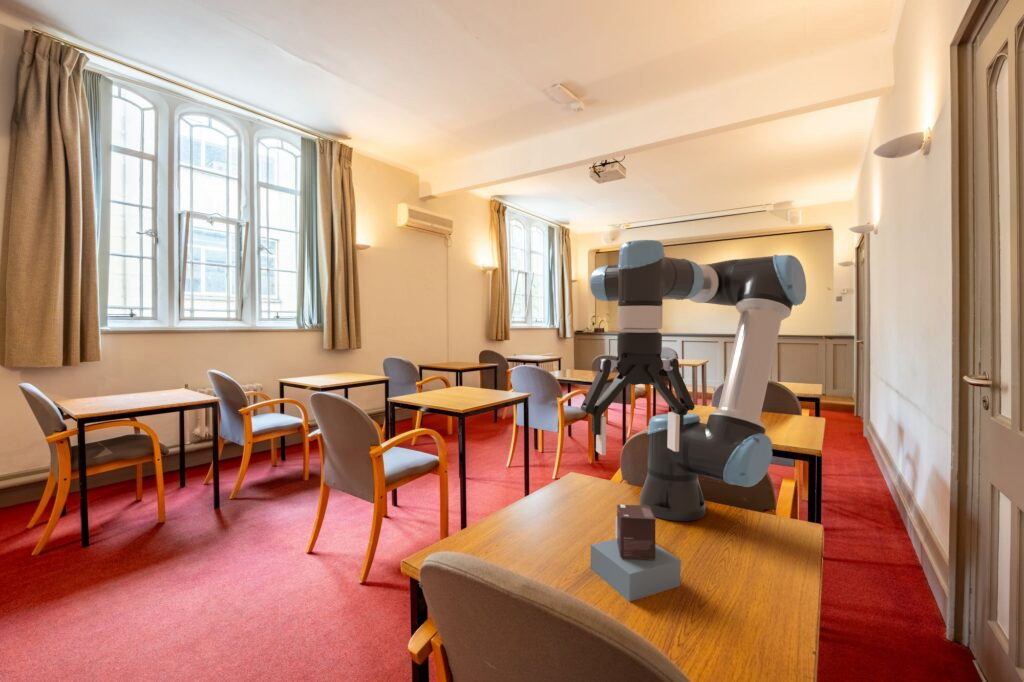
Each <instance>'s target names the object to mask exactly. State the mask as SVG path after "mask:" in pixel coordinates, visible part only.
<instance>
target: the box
mask: <svg viewBox="0 0 1024 682" xmlns="http://www.w3.org/2000/svg"><path fill="white" fill-rule="evenodd" d="M616 517H617V544H618V549H619V553H620V557H621V558H629V559H648V560H655V544H656V517H655V516H654V514H653V512H652V510H651V508H650V506H645V505H640V504H638V505H637V504H635V505H634V504H617V505H616Z"/></svg>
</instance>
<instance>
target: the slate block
mask: <svg viewBox="0 0 1024 682" xmlns="http://www.w3.org/2000/svg"><path fill="white" fill-rule="evenodd" d="M681 563H682V560H681V558H679V557H677V556H676V555H674V554H672V553H670V552H669V551H667V550H666V549H664V548H663V547H661V546H659V545H657V544H656V543H655V560H648V559H629V558H621V557H620V553H619V549H618V544H617V538H616V539H615V538H612V539H609V540H604V541H599V542H596V543H591V544H590V570H591V571H592V572H593V573H594V574H596V575H597V576H598V577H600V578H601V579H602V580H603V581H604V582H606V584H608V585H609V586H610V587H611V588H612V589H614V590H615V591H616V592H617V593H618V594H619V595H620V596H622V597H623V598H624V599H625V600H626V601H628V602H632V601H636V600H640V599H643V598H646V597H650V596H652V595H655V594H659V593H662V592H665V591H669V590H672V589H675V588H678V587H681V571H682V570H681V568H682V567H681V566H682V564H681Z"/></svg>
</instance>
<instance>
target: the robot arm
mask: <svg viewBox="0 0 1024 682" xmlns="http://www.w3.org/2000/svg"><path fill="white" fill-rule="evenodd" d="M665 254H666V253H665V249H664V244H663V243H662V242H661V241H659V240H655V239H654V240H653V239H637V240H629V241H626V242H624V243H623V244H622V245H621V246H620V247H619V255H618V264H607V265H604V266H599V267H597V268H595V270H593V272H592V273H591V275H590V280H589V282H590V283H589V284H590V285H589V288H590V291H591V294H592V295H593V297H594V298H595V299H597V300H598V301H600V302H605V301H606V302H609V303H610V302H617V328H618V329H620V332H618V334H617V341H616V342H617V346H616V351H617V357H616V359H615V360H612V359H609V358H603V357H602V358H600V359H599V364H598V371H597V373H596V375H595V378H594V379H593V382H592V383H591V386H590V387H589V389H588V391H587V394H586V396H585V398H584V399H583V402H581V403H582V404H581V405H580V409H581V411H583V412H584V413H586V414H588V415H590V417H591V433H592V434H593V435H594V436H595V451H596V452H597V453H598V454H599V455H601V456H606V454H607V416H604V413H605V412H606V410H607V409H608V408H609V407H610V406H611V404H612V403H613V402H614V401H615V400H616V398H617V397H618V396H619V394H620V393H621V392H622V391H623V389H625V388H626V387H627V386H628V385H632V386H637V385H640V384H641V385H644V386H645V385H646V386H647V385H650V384H651V386H653V387H654V389H655V390H656V391H657V392H658V394H659V395H660V396H661V398H662V399H663V400H664V402H665V403H666V404H667V406H669V408H670V409H671V410H672V411H668V412H667V413H662V414H661V413H660V414H657V415H656V414H655V415H654V416H651V417H650V419H649V421H648V428H647V429H648V431H647V475H646V477H645V480H644V483H643V486H642V488H641V491H640V493H639V505H645V506H650V508H651V510H652V512H653V514H654V516H655V518H659V519H662V520H667V521H675V522H689V521H691V522H692V521H697V520H700V519H702V518H704V517H705V515H706V502H705V501H706V500H705V499H704V494H703V492H702V489H701V485H700V482H699V475H700V476H703V477H706V478H709V479H710V478H711V479H713V480H716V481H721V482H723V483H726V484H728V485H732V486H733V485H735V486H741V487H744V488H750V487H754V486H756V485H757V484H758V483H760V481H762V479H764V477H765V476H766V474H767V472H768V470H769V469H770V466H771V465H770V464H771V462H772V459H773V442H772V439H771V438H770V437H769V435H767V434H766V429H767V428H766V426H765V425H764V423H763V422H762V421H761V415H762V410H763V407H764V406H763V405H764V402H765V398H766V392H767V387H768V384H769V383H768V382H769V379H770V374H771V370H772V365H773V361H774V356H775V352H776V346H777V342H778V338H779V333H780V329H781V323H782V321H784V320H785V319H788V318H789V317H790V316H791V314H792V309H793V306H795V307H797V306H799V305H802V304H803V303H804V301H805V299H806V296H807V279H806V273H805V271H804V270H805V269H804V267H803V265H802V263H801V262H800V260H799V259H798V257H796V256H795V255H791V254H784V255H783V254H782V255H781V254H780V255H778V254H774V255H770V256H760V257H750V258H749V257H748V258H740V259H739V258H737V259H735V258H734V259H729V260H722V261H718V262H714V263H713V262H712V263H707V264H706V263H705V264H704V263H703V264H702V263H699V264H698V263H697V262H695V261H693V260H689V259H686V258H676V257H669V256H665ZM663 300H664V301H665V300H677V301H678V300H679V301H680V300H681V301H684V300H689V301H690V302H692V303H696V304H711V305H712V304H713V305H718V306H730V307H735V309H736V310H737V312H738V313H739V314H740V316H739V320H738V323H737V328H736V333H735V336H734V341H733V345H732V349H731V353H730V357H729V361H728V362H729V363H728V365H727V370H726V373H725V378H724V383H723V386H722V387H723V388H722V391H721V395H720V399H719V405H718V407H717V409H716V410H714V411H712V412H710V413H709V414H708V418H707V422H706V423H704V422H701V418H700V415H698V414H696V413H692V412H691V413H690V412H689V413H688V411H694V409H695V407H696V406H695V403H694V401H693V399H692V397H691V395H690V393H689V390H688V388H687V385H686V384H685V383H686V382H685V381H684V379H683V377H682V374H681V372H680V363H679V360H678V358H674V357H673V358H672V357H666V358H665V359H662V351H663V334H662V333H661V332H659V331H660V330H662V329H663V304H664V303H663ZM614 369H616V370H617V372H618V374H616V376H615V377H614V378H613V379H612V383H610V385H609V386H608V387H607V389H606V390H605V392H603V389H604V387H605V385H606V383H607V381H608V379H609V377H610V375H611V373H612V372H614ZM662 369H663V370H664V371H666V374H667V377H668V379H669V381H670V383H671V386H672V388H673V390H674V393H675V394H676V396H677V397H676V396H675V394H674V393H673V391H672V390H671V389H670V387H668V385H667V384H666V383H665V380H664V379H663V377H662V376H661V375H660V374H659V373H660V372H661V370H662ZM602 392H603V394H602V395H601V393H602Z"/></svg>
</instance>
